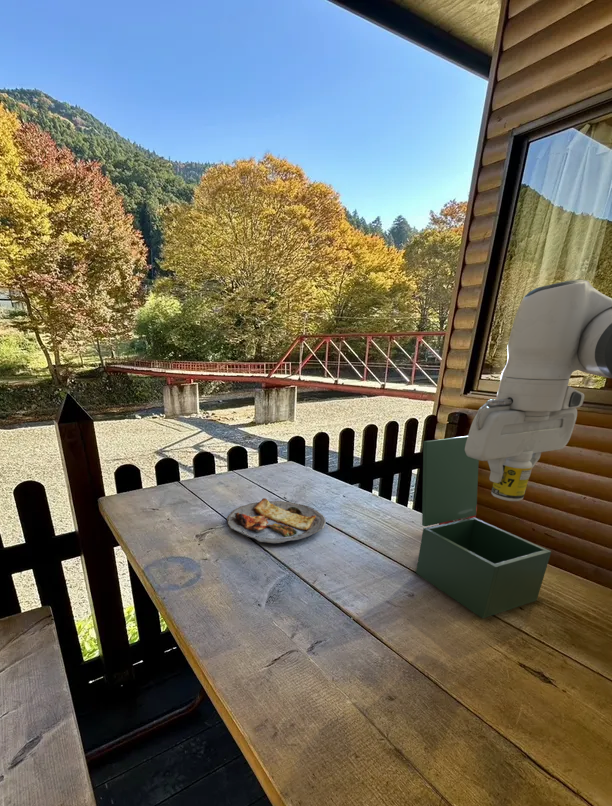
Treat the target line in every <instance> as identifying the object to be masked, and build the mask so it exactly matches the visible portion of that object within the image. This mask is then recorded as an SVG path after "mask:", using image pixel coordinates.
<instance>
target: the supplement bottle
mask: <svg viewBox="0 0 612 806" xmlns="http://www.w3.org/2000/svg"><path fill="white" fill-rule="evenodd" d="M532 454H533V451H528V452H522V453H521V454H520V455H519V456H514V457H507V458H506V463H505V464H503V471H504V472H507V474H506V477H505V481H504V482H500V483H495V482H492V487H491V495H492V496H493V497H494V498H497V499H500V500H503V501H507V502H519V501H522V500H523V499H524V497H525V494H526V490H527V486H528V483H529V479H530V477H531V474H530V472H531V473H532V470H531V468H532V463H531V462H530V461H529V460H531V458H532ZM532 469H533V468H532Z"/></svg>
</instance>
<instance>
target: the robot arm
mask: <svg viewBox="0 0 612 806" xmlns="http://www.w3.org/2000/svg"><path fill="white" fill-rule="evenodd" d="M507 343H508V344H507V347H506V349H507V350H506V351H507V361H506V364H505V366H504V368H503V369H502V372H501V374H500V380H499V385H498V389H497V393H496V398H495V399H493V398H492V399H488V400H486V402H485V403H484V404H483V405H482V406H481V407H479V409H478V410H477V413H476V414H475V416H474V418H473V420H472V422H471V424H470V428H469V432H468V434H467V436H468V438H467V441H466V445H465V453H466V455H467V456H468V457H470V458H473V459H477V460H479V462H480V461H481V462H487V464H488V467H489V470H490V474H489V478H488V479H489V481H490V482H492V483H494V482H495V483H500V482H504V481H505V477H506V474H507V472H504V471H503V464H505V463H506V458H507V457H514V456H519V455H520V454H521V453H522V452H528V451H533V454H532V458H531V460H529V461H530V462H531V463H532V468H531V472H530V475H531V474H532V469H533V468H534V467H535V465H536V464H537V463H538V461H539V460H540V459H541V455H542V453H545V452H551V451H557V450H563V449H564V448H565V447H566V446H567V445H568V443H569V441H570V439H571V437H572V434H573V431H574V427H575V424H576V422H577V419H578V418H577V417H578V409H577V408H580V407H582V405H583V403H584V401H585V394H584V393H583V392H582V391H579V390H578V389H575V388H574V387H572V386H570V385H569V382H570V379H571V375H572V374H573V373H575V372H576V371H580V372H581V373H586V374H590V375H593V376H597V377H602V378H608V379H612V297H610V296H608V295H606V294H604V293H602V292H601V291H600V290H598V289H596V288H595V287H593V286H592V284H591V283H590V281H589V280H587V279H582V278H581V279H580V278H579V279H571V280H566V281H561V282H555V283H552V284H548V285H543V286H539V287H536V288H534V289H532V290H530V291H529V292H528V293H527V294H525V295H524V296H523V298H522V299H521V301H520V303H519V306H518V308H517V311H516V313H515V316H514V320H513V322H512V326H511V330H510V333H509V338H508V342H507Z"/></svg>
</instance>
